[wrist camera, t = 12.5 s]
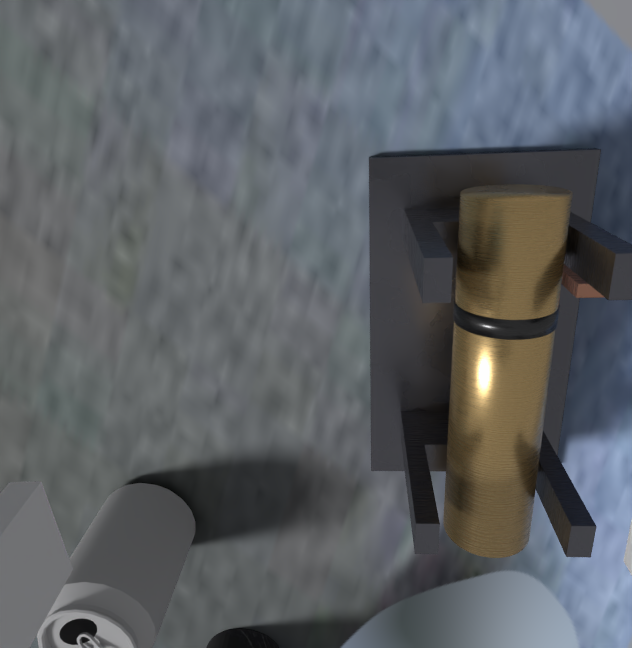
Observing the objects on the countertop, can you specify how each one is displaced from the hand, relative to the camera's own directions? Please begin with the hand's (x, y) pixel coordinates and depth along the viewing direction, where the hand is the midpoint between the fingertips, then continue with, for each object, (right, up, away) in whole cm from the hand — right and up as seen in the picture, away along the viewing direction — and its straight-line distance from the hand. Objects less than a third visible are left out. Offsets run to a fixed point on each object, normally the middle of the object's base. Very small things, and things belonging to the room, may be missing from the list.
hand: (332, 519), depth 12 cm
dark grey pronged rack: (+10, +4, +24) cm, 27 cm away
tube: (+10, +2, +20) cm, 22 cm away
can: (-13, -11, +32) cm, 37 cm away
